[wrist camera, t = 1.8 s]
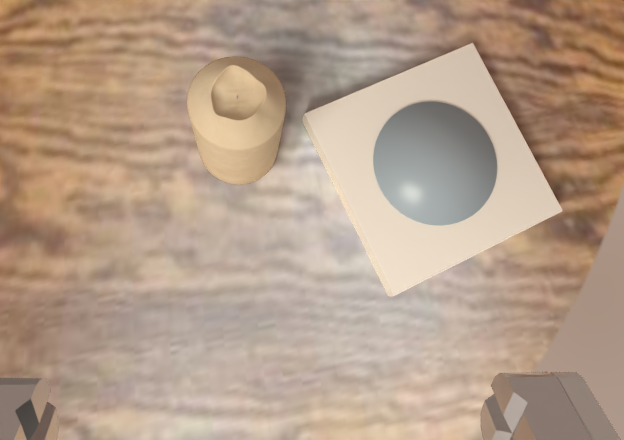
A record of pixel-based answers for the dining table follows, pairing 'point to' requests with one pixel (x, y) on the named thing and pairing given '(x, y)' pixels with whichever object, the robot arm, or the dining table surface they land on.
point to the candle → (237, 118)
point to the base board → (430, 167)
